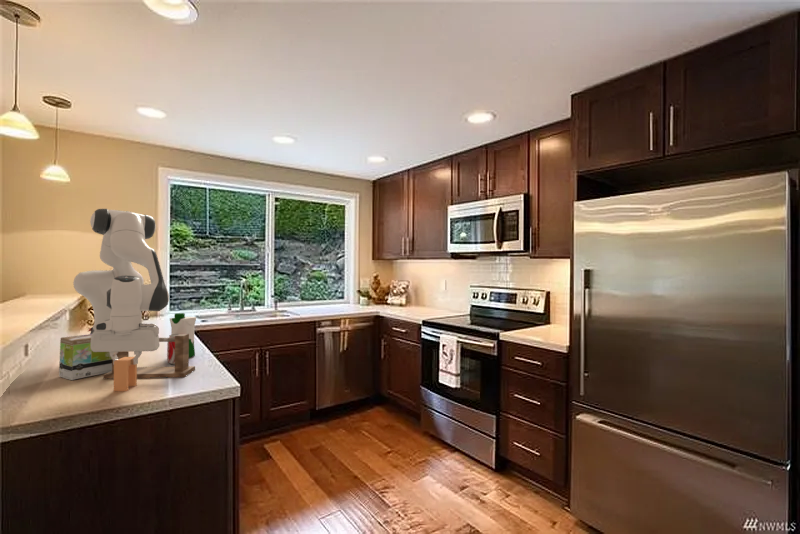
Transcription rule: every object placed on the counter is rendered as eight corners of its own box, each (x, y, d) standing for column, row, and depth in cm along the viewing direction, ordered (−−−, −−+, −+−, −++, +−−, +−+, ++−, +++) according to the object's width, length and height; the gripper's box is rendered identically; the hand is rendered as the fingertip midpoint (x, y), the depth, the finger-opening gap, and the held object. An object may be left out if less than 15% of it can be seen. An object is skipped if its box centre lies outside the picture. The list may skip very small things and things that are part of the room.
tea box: (72, 381, 139) (72, 340, 139) (58, 377, 143) (58, 337, 143) (118, 371, 152) (118, 333, 152) (104, 367, 157) (105, 331, 157)
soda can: (177, 365, 161) (177, 336, 161) (163, 364, 163) (163, 336, 163) (190, 361, 168) (190, 333, 168) (176, 360, 170) (176, 333, 170)
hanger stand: (103, 378, 142) (103, 337, 142) (119, 371, 152) (120, 333, 152) (184, 377, 145) (184, 337, 145) (195, 369, 155) (195, 332, 155)
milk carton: (166, 358, 173) (167, 313, 173) (183, 354, 182) (183, 311, 182) (182, 360, 171) (183, 314, 171) (198, 355, 179) (199, 312, 179)
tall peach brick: (113, 391, 128) (113, 361, 128) (124, 385, 134) (124, 356, 134) (126, 390, 129) (126, 360, 129) (136, 385, 135) (136, 356, 135)
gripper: (163, 322, 136) (162, 361, 136) (99, 322, 133) (99, 362, 133) (154, 325, 130) (153, 366, 130) (87, 325, 127) (87, 367, 127)
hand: (125, 364), depth 132 cm, fingers closed on tall peach brick, 4 cm apart
